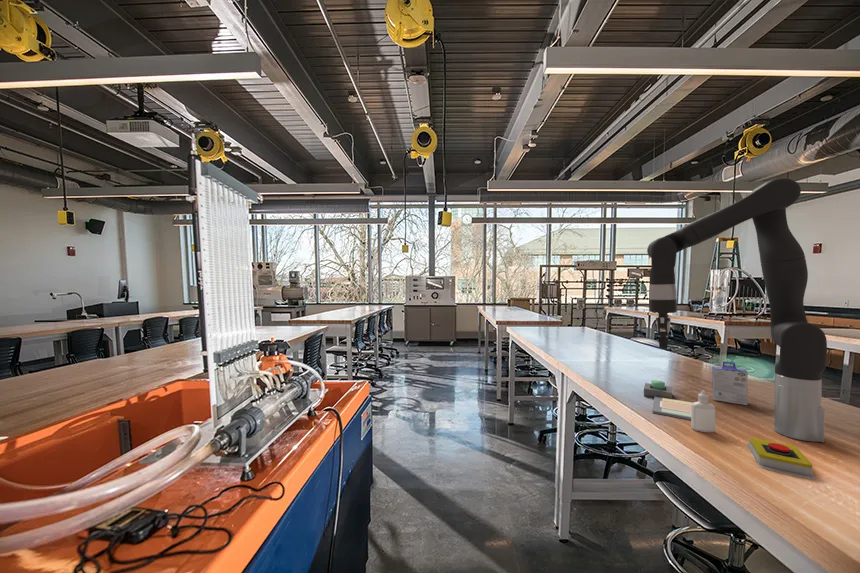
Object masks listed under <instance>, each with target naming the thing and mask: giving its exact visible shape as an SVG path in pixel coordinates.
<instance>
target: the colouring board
mask: <svg viewBox="0 0 860 573" xmlns="http://www.w3.org/2000/svg"><path fill="white" fill-rule="evenodd" d="M692 403H694V402H692V401H687V400H686V401H685V400H681V399H674V398H672V399H669V398H663V397H656V396H654V398H653V405H652V412H651V413H652V414H657V415H662V416H668V417H672V418H678V419H683V420H688V421H691V405H692Z"/></svg>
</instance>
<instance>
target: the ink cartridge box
mask: <svg viewBox="0 0 860 573" xmlns="http://www.w3.org/2000/svg"><path fill="white" fill-rule="evenodd" d="M728 364H729V365H728ZM711 368H712V369H711V372H712V373H711V374H712V376H711V378H712V380H711V381H712V384H711V385H712V390H711V391H712V395H711V396H712V400H713V401H717V402H718V401H720V402H725V403H729V404H737V405H738V404H739V405H744V406H748V392H749V391H748V375H749V374H748V371H747V370H746V369H742V368H737V367H736V362H733V361H732V362H731V361H722V366H711Z"/></svg>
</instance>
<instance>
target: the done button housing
mask: <svg viewBox="0 0 860 573" xmlns="http://www.w3.org/2000/svg"><path fill="white" fill-rule="evenodd" d="M654 396H656V397H663V398H669V399H673V387H672V386H670V385H669V386H668V385H665V390H659V389H652V388H651V383H648V382H645V383H644V386H643V397H647V398H648V397H649V398H653V399H654Z"/></svg>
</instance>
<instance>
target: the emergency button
mask: <svg viewBox="0 0 860 573" xmlns="http://www.w3.org/2000/svg"><path fill="white" fill-rule="evenodd" d="M748 441H749V442H748V443H746V446H747V448H748V449H750V450H749V451H750V453H751V454H752V457H753V456H754V457H753V459H754V460H755V462H756V463H757V465H758V467H760V468H761V469H763V470H765V471H766V470H768V471H771V472H772V471H773V472H777V473H779V474H785V475H790V476H794V477H798V478H803V479H806V480H807V479H809V480H810V481H811V480H814V481H815V480H816V476H815V475H814V472H813V471H814V470H813V464H812V462H811V461H810V460H809V458H808V457H806V455H805V454H804V453H803V452H802V451H801V450H800V449H799V448H798V446H795V445H793V444H789V443H783V442H776V441H773V440H767V439H761V438H756V437H749V439H748Z"/></svg>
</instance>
